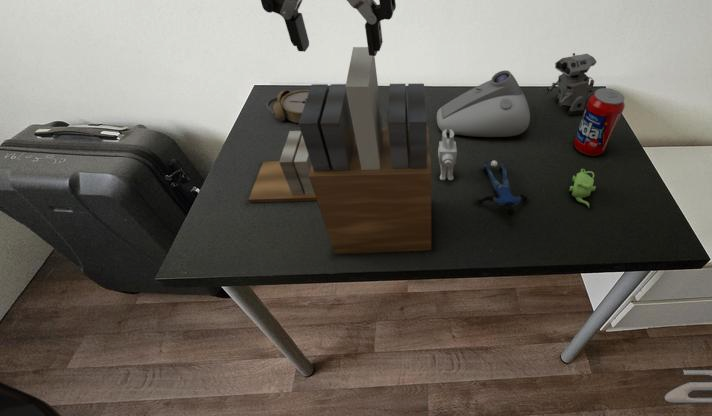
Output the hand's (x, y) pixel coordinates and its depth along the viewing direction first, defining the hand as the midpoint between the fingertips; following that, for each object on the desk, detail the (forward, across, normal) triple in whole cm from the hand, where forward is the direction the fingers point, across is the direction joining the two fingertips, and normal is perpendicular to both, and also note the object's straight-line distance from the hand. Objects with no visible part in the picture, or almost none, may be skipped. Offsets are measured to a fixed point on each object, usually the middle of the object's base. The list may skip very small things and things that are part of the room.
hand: (339, 50), depth 44 cm
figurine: (+38, +44, +50) cm, 77 cm away
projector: (+38, +20, +39) cm, 58 cm away
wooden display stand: (+37, -22, +13) cm, 45 cm away
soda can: (+38, +48, +32) cm, 69 cm away
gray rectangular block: (+17, +2, +2) cm, 17 cm away
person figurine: (+37, +25, +13) cm, 47 cm away
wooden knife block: (+37, +1, +2) cm, 37 cm away
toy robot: (+37, +13, +18) cm, 44 cm away
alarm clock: (+37, -28, +39) cm, 61 cm away
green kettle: (+37, +42, +15) cm, 58 cm away
